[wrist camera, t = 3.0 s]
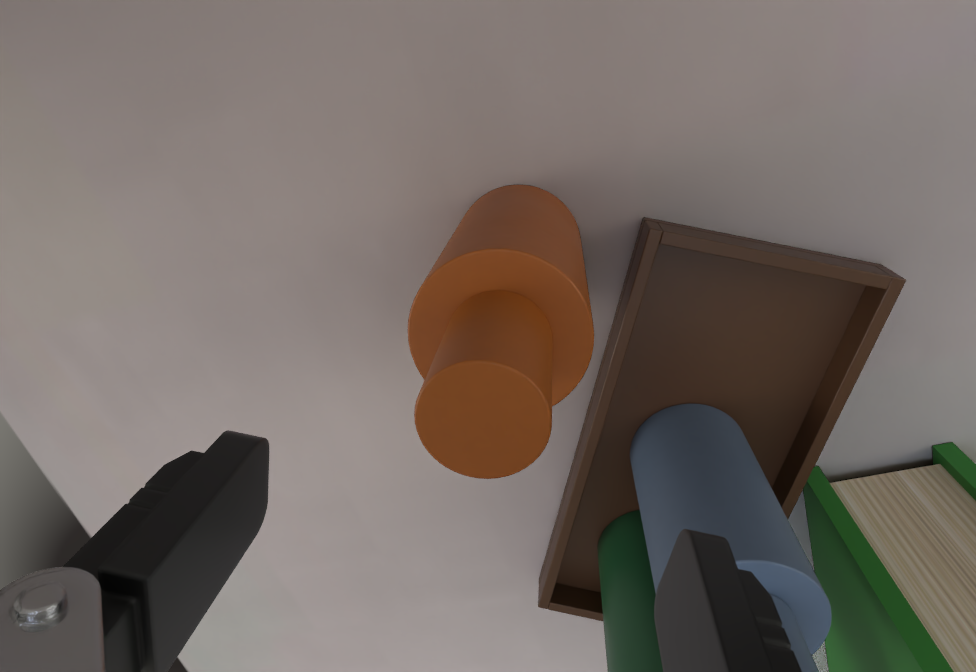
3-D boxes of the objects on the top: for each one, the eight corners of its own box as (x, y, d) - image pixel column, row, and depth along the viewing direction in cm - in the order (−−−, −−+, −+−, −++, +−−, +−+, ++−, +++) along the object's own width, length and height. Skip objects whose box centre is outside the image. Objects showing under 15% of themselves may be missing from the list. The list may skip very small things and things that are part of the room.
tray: (538, 579, 38) (537, 607, 36) (643, 216, 28) (649, 228, 26) (716, 616, 38) (725, 647, 36) (881, 264, 28) (907, 279, 26)
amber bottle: (448, 291, 31) (352, 493, 16) (467, 172, 28) (374, 285, 14) (565, 315, 31) (573, 540, 16) (594, 198, 28) (636, 338, 14)
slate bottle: (616, 484, 34) (663, 801, 19) (647, 392, 31) (727, 676, 17) (723, 506, 34) (852, 843, 19) (762, 416, 31) (945, 723, 17)
